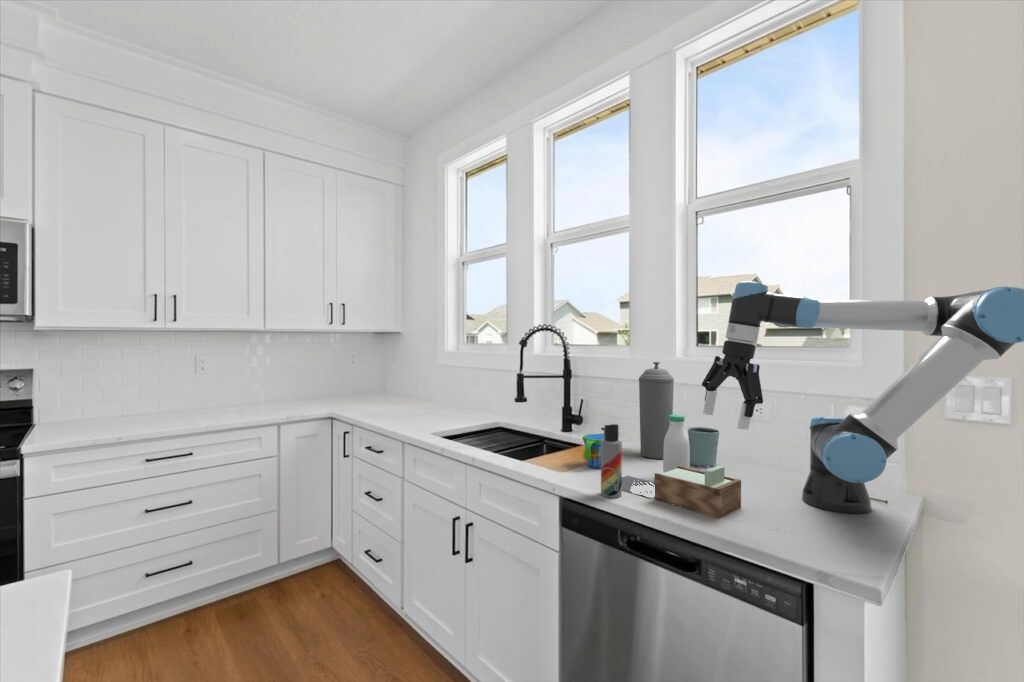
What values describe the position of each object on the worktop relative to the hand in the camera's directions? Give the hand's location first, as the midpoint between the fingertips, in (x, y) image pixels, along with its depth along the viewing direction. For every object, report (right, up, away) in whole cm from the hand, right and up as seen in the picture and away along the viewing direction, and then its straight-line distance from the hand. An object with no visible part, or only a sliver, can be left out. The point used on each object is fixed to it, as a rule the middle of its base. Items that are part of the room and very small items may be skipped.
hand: (724, 421), depth 127 cm
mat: (-18, -22, +16) cm, 33 cm away
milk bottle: (-5, -22, +23) cm, 32 cm away
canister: (-2, -22, +53) cm, 57 cm away
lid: (-7, -17, +2) cm, 18 cm away
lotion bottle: (-28, -22, +9) cm, 37 cm away
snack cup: (-26, -22, +39) cm, 52 cm away
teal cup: (+11, -22, +42) cm, 48 cm away
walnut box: (-6, -22, +2) cm, 23 cm away
